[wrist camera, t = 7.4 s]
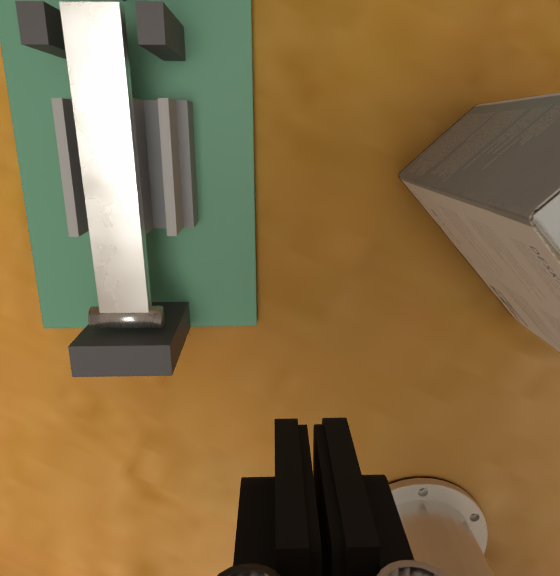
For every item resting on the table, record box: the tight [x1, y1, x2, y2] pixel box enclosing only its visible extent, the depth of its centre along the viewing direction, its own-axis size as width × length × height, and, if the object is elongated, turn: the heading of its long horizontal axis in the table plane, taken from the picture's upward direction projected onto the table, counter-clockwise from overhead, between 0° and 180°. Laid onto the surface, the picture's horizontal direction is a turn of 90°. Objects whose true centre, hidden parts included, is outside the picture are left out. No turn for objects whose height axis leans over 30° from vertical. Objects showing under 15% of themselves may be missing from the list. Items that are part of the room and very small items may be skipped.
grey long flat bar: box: [59, 2, 165, 329], centre depth 29 cm, size 18×4×1 cm, turn 0°
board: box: [0, 0, 257, 377], centre depth 32 cm, size 24×16×9 cm, turn 0°
